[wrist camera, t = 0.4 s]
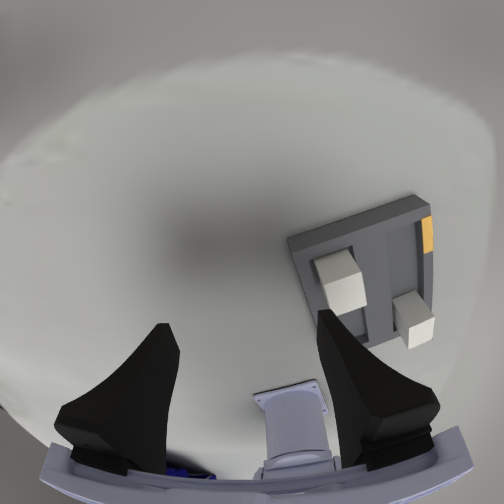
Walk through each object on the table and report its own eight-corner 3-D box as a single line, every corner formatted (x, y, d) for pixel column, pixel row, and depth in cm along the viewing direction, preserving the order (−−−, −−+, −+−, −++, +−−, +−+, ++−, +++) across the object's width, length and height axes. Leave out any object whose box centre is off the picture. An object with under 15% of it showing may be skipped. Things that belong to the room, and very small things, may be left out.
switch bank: (420, 307, 26) (431, 322, 23) (323, 345, 27) (328, 363, 25) (414, 194, 20) (430, 204, 18) (287, 238, 22) (291, 254, 20)
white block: (350, 274, 22) (366, 305, 18) (321, 285, 22) (332, 317, 19) (343, 243, 21) (361, 271, 17) (311, 254, 21) (323, 285, 17)
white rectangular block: (415, 311, 24) (432, 338, 21) (392, 321, 25) (408, 349, 21) (415, 289, 23) (434, 316, 19) (391, 299, 23) (408, 328, 20)
